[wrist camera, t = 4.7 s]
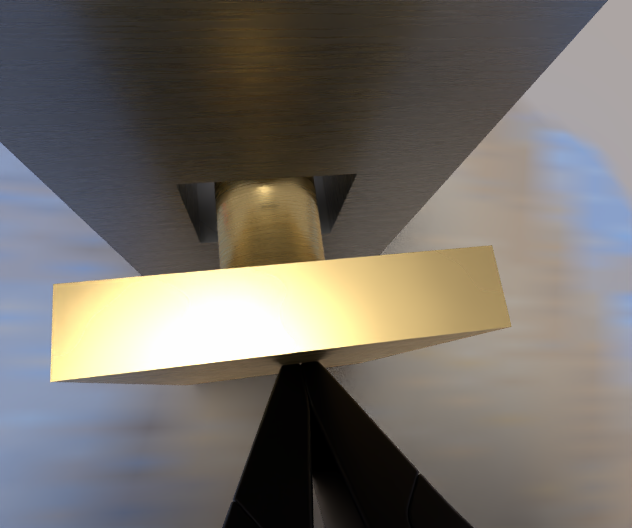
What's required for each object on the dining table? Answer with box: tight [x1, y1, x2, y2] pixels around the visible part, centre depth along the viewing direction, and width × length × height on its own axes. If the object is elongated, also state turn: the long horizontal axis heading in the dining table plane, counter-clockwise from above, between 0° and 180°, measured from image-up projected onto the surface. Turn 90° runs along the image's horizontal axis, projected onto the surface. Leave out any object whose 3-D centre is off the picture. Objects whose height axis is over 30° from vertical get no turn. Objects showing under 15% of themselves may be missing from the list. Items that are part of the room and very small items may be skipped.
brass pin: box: [50, 176, 511, 385], centre depth 12 cm, size 10×6×10 cm, turn 7°
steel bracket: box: [0, 0, 608, 276], centre depth 11 cm, size 3×8×13 cm, turn 97°
